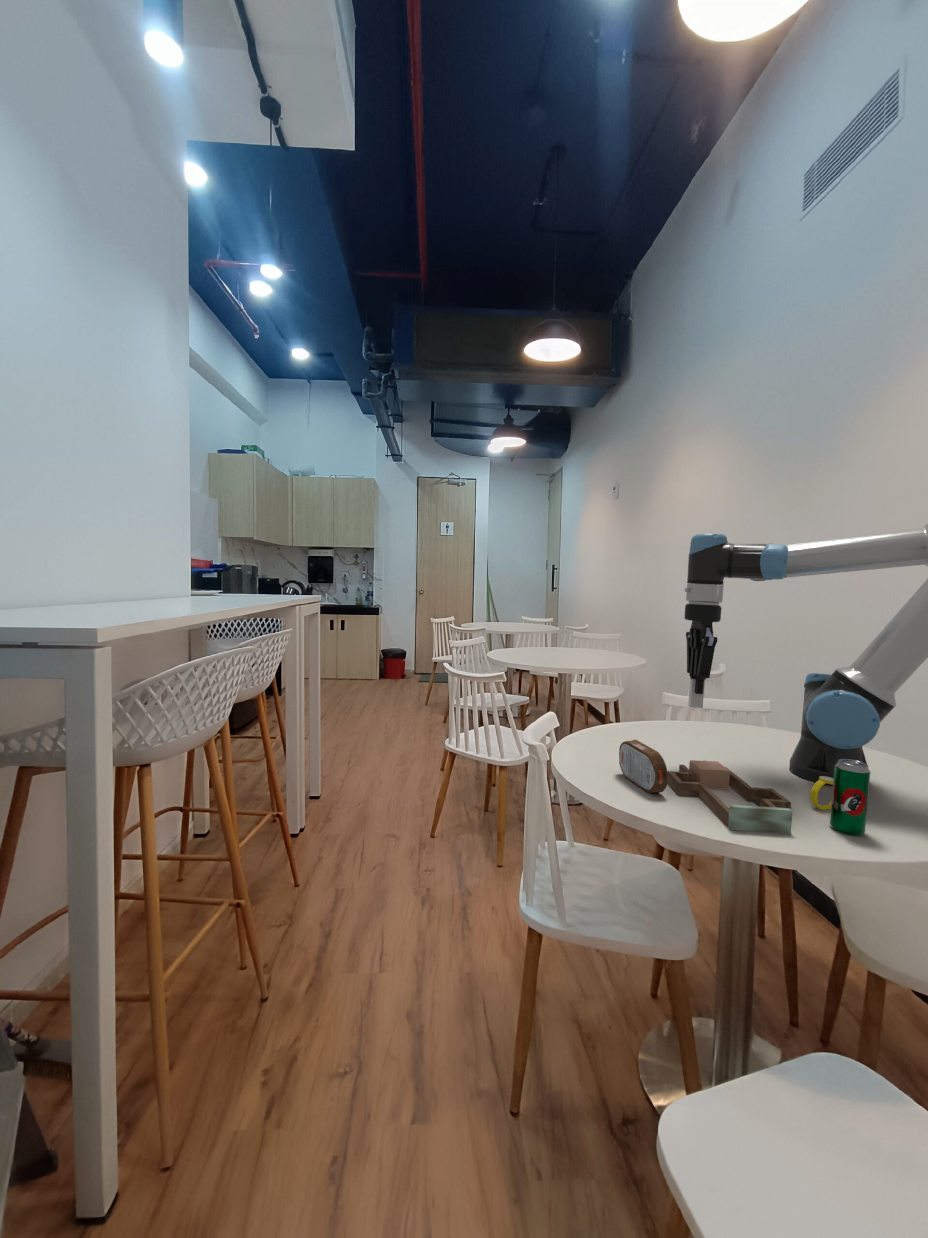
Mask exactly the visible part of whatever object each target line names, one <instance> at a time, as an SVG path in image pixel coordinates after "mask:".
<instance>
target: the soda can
mask: <svg viewBox="0 0 928 1238" xmlns="http://www.w3.org/2000/svg"><path fill="white" fill-rule="evenodd" d="M870 783H871V771H870V769H869V765H868V763H867V764H866V763H863V762H860V761H856V760H851V759H839V760H838V763H837V764H836V765H835V769H834V781H833V785H832V793H831V794H832V796H831V801H832V804H831V809H830V816H829V817H830V819H829V824H830V826H831V827H832V829H834V830H835V831H837V832H840V834H841V833H842V834H843V835H848V836H854V837H855V836H856V837H857V836H861V835H864V833H865V832H866V826H867V816H868V815H867V814H868V804H869V794H870V792H869V791H870Z"/></svg>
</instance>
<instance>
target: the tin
mask: <svg viewBox="0 0 928 1238" xmlns="http://www.w3.org/2000/svg"><path fill="white" fill-rule="evenodd" d="M618 748H619V749H618V750H619V751H618V757H619V760H618V761H619V763H618V764H619V767H620V770H621V773H622V775H624V776H623V777H625V778H626V779H627V780H629V781H630V782H631V783H632V784H635V785H636V786H637V787H638V788H639V789H641V790H642V791H644V792H646V793H648V794H652V793H662V792H664V791H665V790H666V788H667V787H668V767H667V764H666V762H665V759H664V757H663V756H662V755H661V754H660V752H659V751H657V750H655V749H653V748H652V747H650V746H648V745H647V744H645V743H643V742H641V741H639V740H637V739H632V740H626V741H622V742H621V743H620V746H619V747H618Z"/></svg>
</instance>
